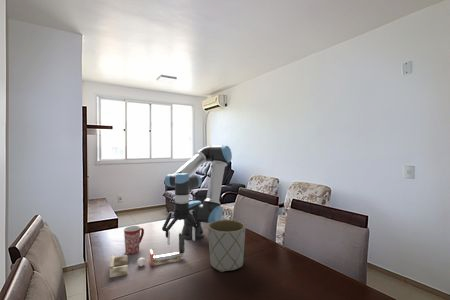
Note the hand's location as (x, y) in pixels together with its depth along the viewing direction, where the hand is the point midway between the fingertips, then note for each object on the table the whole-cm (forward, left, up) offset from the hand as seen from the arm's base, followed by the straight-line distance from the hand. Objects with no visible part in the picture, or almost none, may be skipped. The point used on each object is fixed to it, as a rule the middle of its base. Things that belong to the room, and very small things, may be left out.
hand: (181, 241), depth 124 cm
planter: (-20, +15, -9) cm, 27 cm away
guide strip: (+8, 0, -9) cm, 12 cm away
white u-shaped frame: (+7, 0, -9) cm, 11 cm away
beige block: (+31, 0, -9) cm, 32 cm away
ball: (+20, 0, -7) cm, 21 cm away
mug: (+23, -20, -9) cm, 32 cm away
